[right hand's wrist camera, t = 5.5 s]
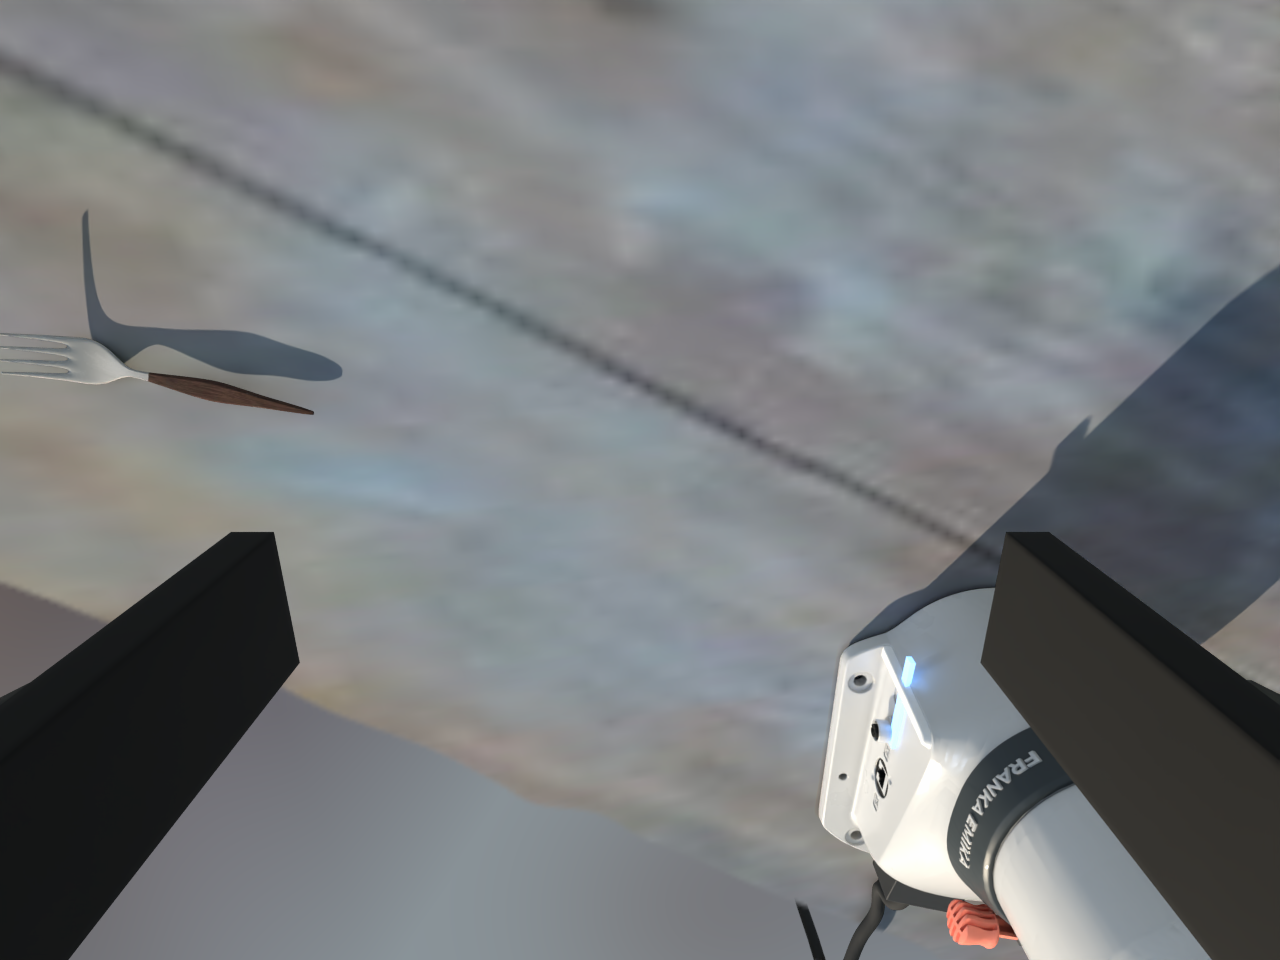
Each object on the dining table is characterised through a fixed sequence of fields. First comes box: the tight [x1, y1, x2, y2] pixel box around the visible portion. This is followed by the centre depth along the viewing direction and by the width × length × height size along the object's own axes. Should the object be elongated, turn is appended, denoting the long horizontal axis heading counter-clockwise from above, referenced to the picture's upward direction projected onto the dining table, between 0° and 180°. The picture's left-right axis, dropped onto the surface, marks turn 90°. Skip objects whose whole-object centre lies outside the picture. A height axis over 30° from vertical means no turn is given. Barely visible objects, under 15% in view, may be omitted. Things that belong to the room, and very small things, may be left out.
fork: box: [0, 333, 314, 415], centre depth 38 cm, size 3×16×2 cm, turn 77°
